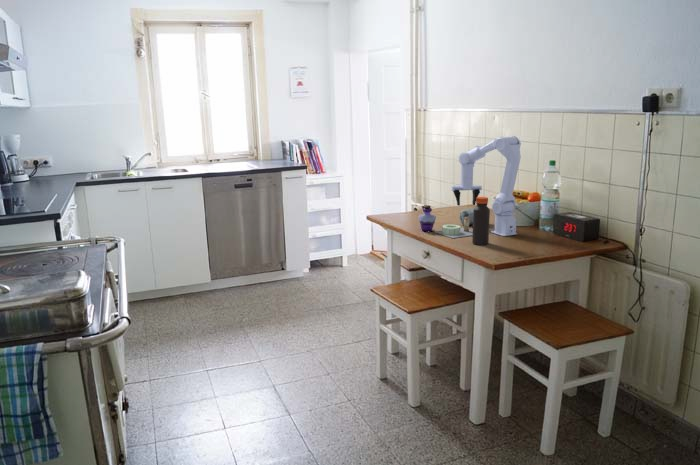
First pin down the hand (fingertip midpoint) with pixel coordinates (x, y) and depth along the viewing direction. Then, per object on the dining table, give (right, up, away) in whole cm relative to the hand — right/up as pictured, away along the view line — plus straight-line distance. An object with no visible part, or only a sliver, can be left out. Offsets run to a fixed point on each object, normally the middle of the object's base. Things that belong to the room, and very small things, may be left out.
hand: (466, 204), depth 281 cm
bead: (-10, -14, -16) cm, 23 cm away
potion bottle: (-20, -13, -9) cm, 26 cm away
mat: (-7, -14, -15) cm, 22 cm away
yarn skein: (+4, -10, +3) cm, 11 cm away
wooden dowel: (-3, -13, -13) cm, 19 cm away
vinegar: (-1, -18, -34) cm, 39 cm away
